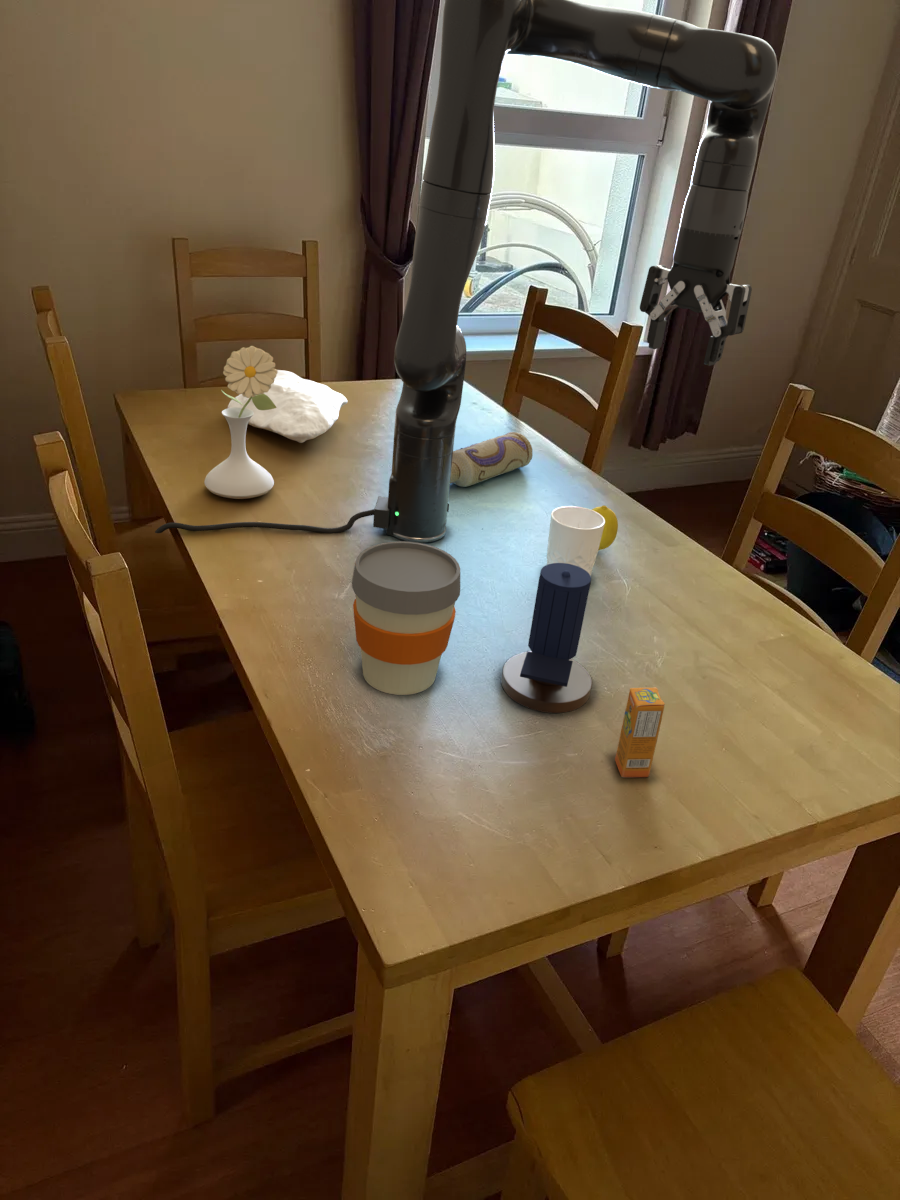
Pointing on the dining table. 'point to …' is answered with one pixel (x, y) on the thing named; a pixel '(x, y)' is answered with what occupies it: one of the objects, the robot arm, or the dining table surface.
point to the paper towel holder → (546, 688)
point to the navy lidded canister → (556, 623)
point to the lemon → (607, 526)
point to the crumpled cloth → (296, 407)
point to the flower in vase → (244, 426)
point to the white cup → (574, 536)
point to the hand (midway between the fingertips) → (681, 356)
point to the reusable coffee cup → (403, 613)
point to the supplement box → (639, 732)
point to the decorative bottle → (490, 459)
